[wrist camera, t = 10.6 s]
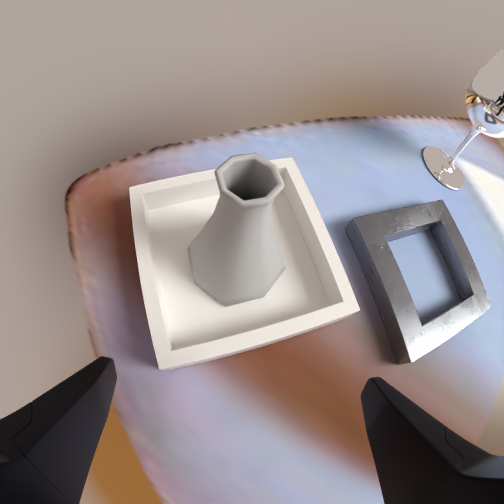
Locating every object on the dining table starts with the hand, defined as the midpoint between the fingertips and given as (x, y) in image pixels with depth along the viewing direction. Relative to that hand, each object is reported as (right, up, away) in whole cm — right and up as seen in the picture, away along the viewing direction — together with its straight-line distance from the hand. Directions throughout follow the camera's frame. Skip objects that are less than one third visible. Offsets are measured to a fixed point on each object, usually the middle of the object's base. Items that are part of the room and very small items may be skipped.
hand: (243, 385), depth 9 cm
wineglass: (+27, +16, +23) cm, 39 cm away
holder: (+17, +2, +16) cm, 23 cm away
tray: (-1, +4, +14) cm, 15 cm away
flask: (-1, +4, +14) cm, 14 cm away
